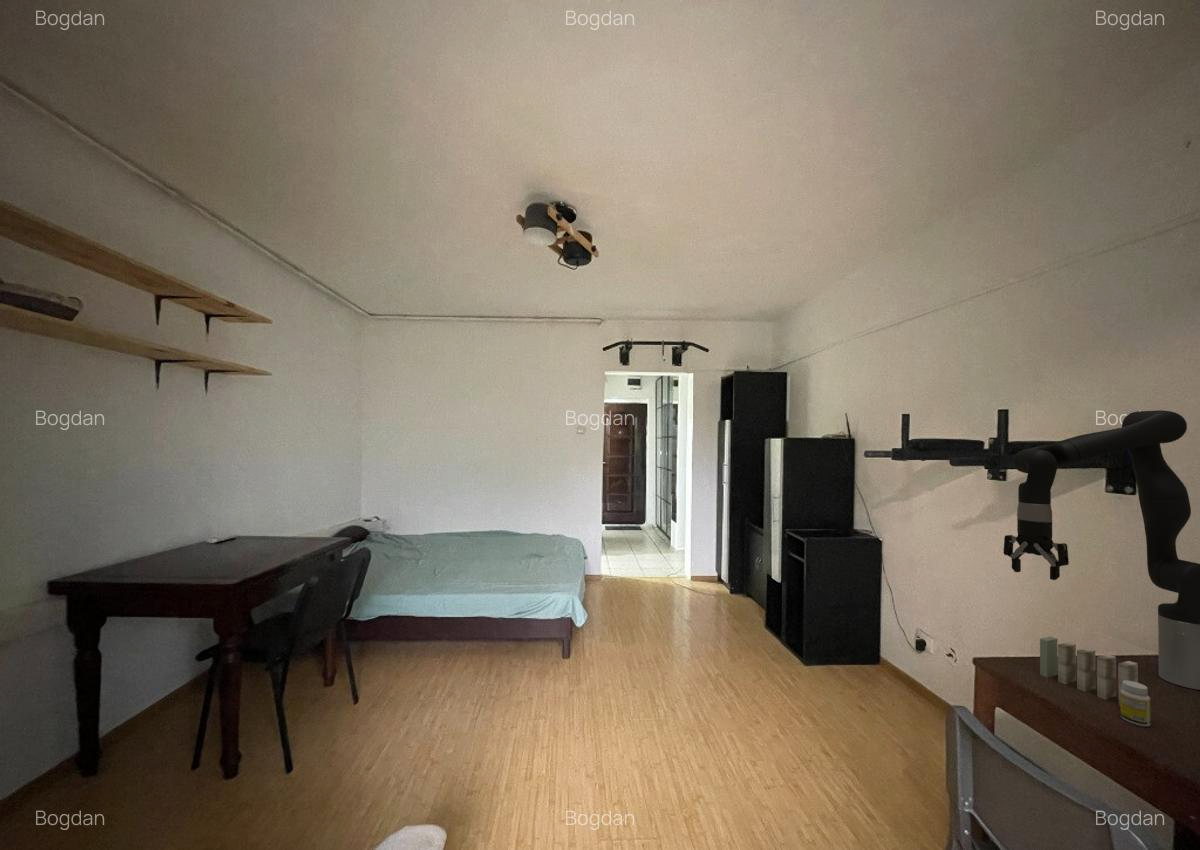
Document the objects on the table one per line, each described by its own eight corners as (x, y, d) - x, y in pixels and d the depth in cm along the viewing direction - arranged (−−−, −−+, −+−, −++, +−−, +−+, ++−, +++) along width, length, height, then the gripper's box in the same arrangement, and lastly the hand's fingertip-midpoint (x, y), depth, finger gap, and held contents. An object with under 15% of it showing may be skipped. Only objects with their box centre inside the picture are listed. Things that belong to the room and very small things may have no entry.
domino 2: (1068, 678, 133) (1068, 642, 133) (1076, 681, 131) (1075, 644, 131) (1058, 681, 131) (1057, 644, 131) (1065, 684, 129) (1065, 646, 130)
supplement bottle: (1131, 715, 115) (1131, 679, 115) (1156, 726, 110) (1156, 689, 111) (1114, 715, 114) (1114, 679, 115) (1139, 727, 110) (1139, 690, 110)
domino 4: (1107, 693, 125) (1107, 654, 126) (1116, 696, 124) (1115, 656, 124) (1097, 696, 123) (1096, 656, 124) (1105, 699, 122) (1105, 659, 122)
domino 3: (1087, 685, 129) (1087, 647, 129) (1095, 688, 127) (1095, 650, 128) (1077, 688, 127) (1076, 650, 127) (1085, 691, 126) (1084, 652, 126)
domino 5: (1129, 701, 121) (1128, 660, 122) (1138, 704, 120) (1137, 663, 120) (1118, 704, 120) (1118, 663, 120) (1127, 707, 118) (1127, 666, 118)
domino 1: (1050, 672, 136) (1050, 636, 137) (1057, 674, 135) (1057, 638, 135) (1040, 675, 134) (1039, 638, 135) (1047, 677, 133) (1047, 640, 133)
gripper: (1073, 522, 134) (1073, 581, 134) (1012, 514, 147) (1013, 568, 147) (1058, 523, 131) (1059, 583, 131) (998, 515, 144) (998, 570, 144)
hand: (1034, 575), depth 139 cm, fingers open, 8 cm apart
